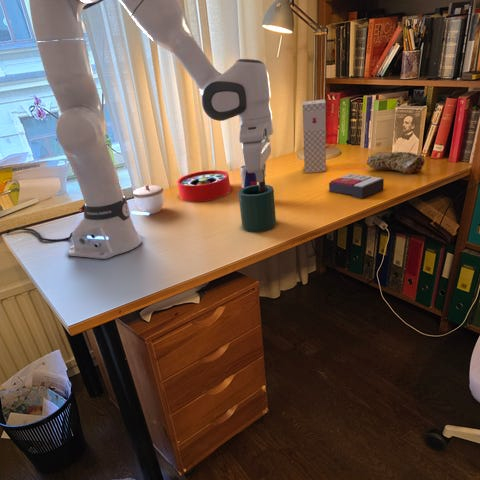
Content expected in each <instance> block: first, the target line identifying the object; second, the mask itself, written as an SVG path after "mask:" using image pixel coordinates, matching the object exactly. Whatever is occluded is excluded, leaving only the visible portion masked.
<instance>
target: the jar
mask: <svg viewBox="0 0 480 480" xmlns="http://www.w3.org/2000/svg"><path fill="white" fill-rule="evenodd" d="M265 185H266V192H264V193H261V194H259V184H257V185H252V186H247V187H244V188H242V187H241V188H240V189H239V190H238V191H237V194H238V202H239V203H238V204H239V211H240V219H241V226H242V229H243V231H245V232H249V233H263V232H266V231H269V230H272V229H274V228H275V227H276V225H277V216H276V202H275V201H276V200H275V190H274V187H273V186H272V185H269V184H265Z"/></svg>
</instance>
